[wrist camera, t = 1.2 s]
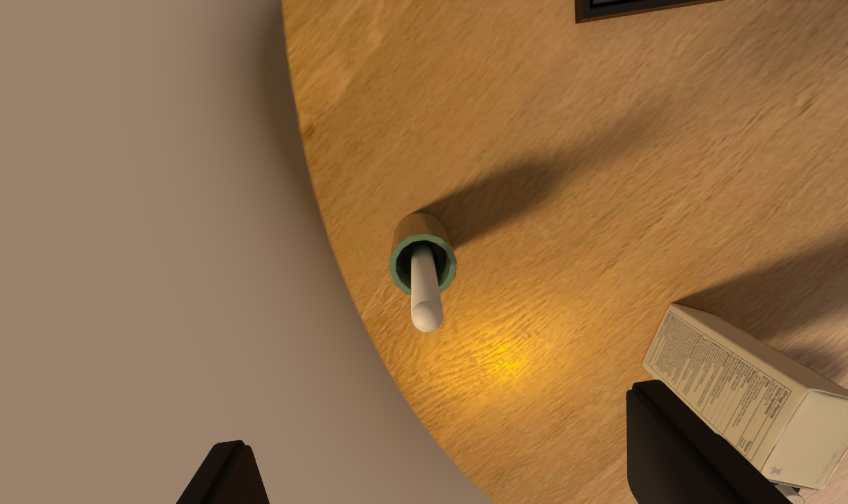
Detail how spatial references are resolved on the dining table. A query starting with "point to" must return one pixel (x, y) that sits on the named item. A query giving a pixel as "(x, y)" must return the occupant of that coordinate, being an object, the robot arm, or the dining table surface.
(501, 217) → the dining table surface
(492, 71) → the dining table surface
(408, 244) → the pen pot
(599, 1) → the screen
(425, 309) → the stylus
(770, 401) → the cosmetic box
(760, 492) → the robot arm
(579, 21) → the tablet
